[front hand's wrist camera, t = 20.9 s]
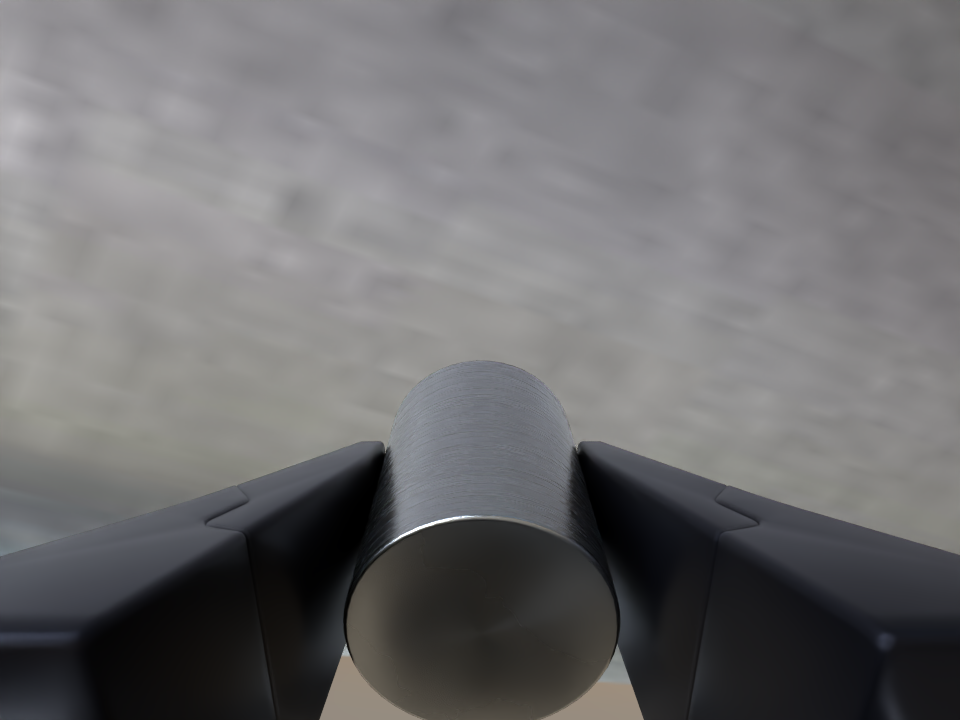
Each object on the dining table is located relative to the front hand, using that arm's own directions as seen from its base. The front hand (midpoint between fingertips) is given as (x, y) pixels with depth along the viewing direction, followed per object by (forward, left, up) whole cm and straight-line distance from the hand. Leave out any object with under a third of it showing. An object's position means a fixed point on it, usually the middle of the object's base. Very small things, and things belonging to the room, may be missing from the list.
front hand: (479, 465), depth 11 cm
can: (0, 0, -1) cm, 1 cm away
